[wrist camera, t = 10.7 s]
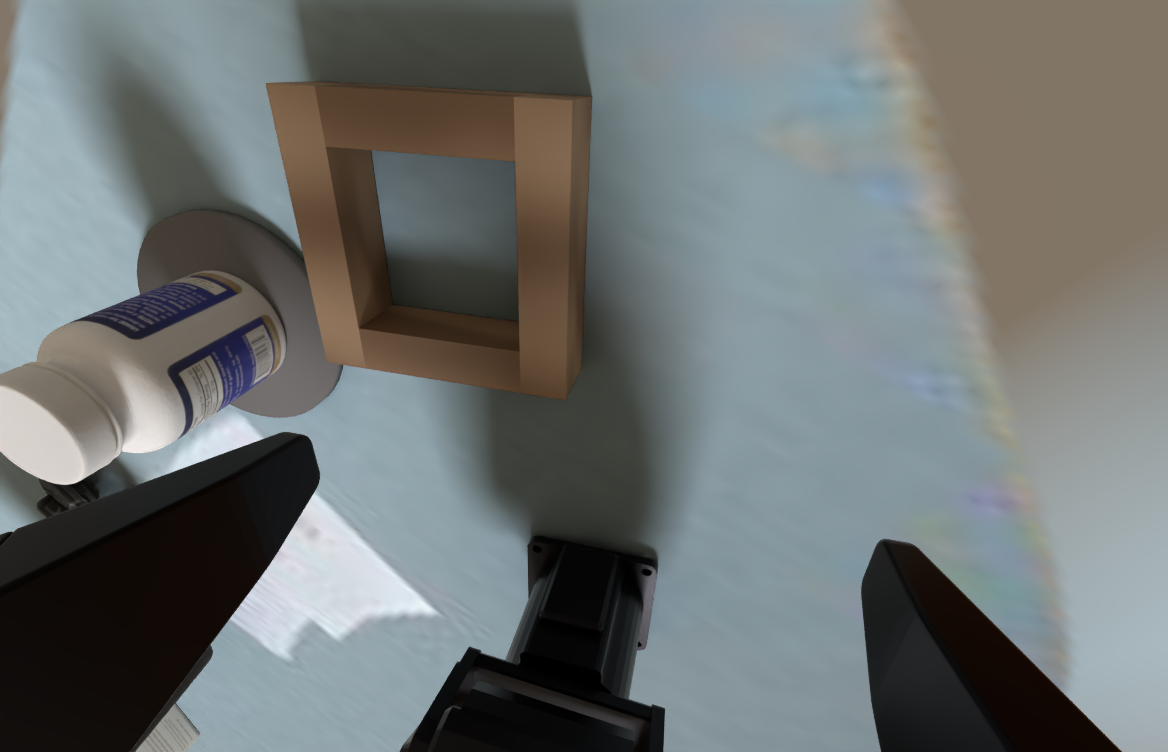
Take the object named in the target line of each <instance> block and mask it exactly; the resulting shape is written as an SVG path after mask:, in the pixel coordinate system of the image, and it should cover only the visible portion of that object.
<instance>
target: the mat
mask: <svg viewBox="0 0 1168 752" xmlns="http://www.w3.org/2000/svg"><path fill="white" fill-rule="evenodd" d="M201 271H220V272H225V273H228V274H231V275H234V276H236V277H238V278H240V279H242V280H243V281H245V282H247V283H248V284H250V285H251V286H252V287H254V288H255V289H256V290H257V291H258V292H259V293H261V294H262V295H263V296H264V297H265V299H266V300H267V301H268V302H269V303H270V305H271V306H272V307H273V309H274V310H275V312H276V314H277V316H278V318H279V320H280V322H281V324H282V326H283V329H284V333H285V337H286V354H285V358H284V360H283V363H282V364H281V366H280V367H279V368H278V369H277V370H276V371H275V372H274V373H273V374H271V375H270V376H269V377H268V378H266V379H265V380H263V381H262V382H260V383H259V384H257V385H256V386H255V387H253V388H252V389H250V390H249V391H247V392H246V393H244V394H243V395H242V396H240V397H239V398H237V399H236V400H234V401H233V402H231V403H230V404H231V405H233V406H235V407H237V408H239V409H241V410H244V411H247V412H250V413H253V414H257V415H261V416H267V417H291V416H297V415H300V414H303V413H305V412H307V411H309V410H311V409H313V408H314V407H315V406H317V405H318V404H319V403H320V402H322V401H323V400H324V399H325V398H326V397H328V396H329V395H330V393H331V392H332V391H333V390H334V388H335V387H336V385H337V383H338V381H339V379H340V376H341V372H342V369H343V365H341V364H335V363H329V362H327V360H326V355H325V351H324V346H323V342H322V337H321V333H320V328H319V324H318V319H317V315H316V310H315V306H314V301H313V296H312V292H311V287H310V283H309V278H308V274H307V269H306V265H305V262H304V261H303V260H302V259H301V258H300V257H299V256H298V254H297V253H296V252H294V251H293V250H292V249H291V248H290V247H289V246H288V245H287V244H286V243H284V242H283V241H282V240H281V239H279V238H278V237H277V236H275V235H274V234H273V233H271V232H270V231H268V230H267V229H265V228H263V227H261V226H260V225H258V224H256V223H254V222H252V221H250V220H248V219H246V218H244V217H241V216H238V215H235V214H232V213H229V212H224V211H218V210H206V209H200V210H193V211H188V212H184V213H180V214H177V215H174V216H171V217H168V218H166V219H164V220H162V221H161V222H159V223H158V224H156V225H155V226H154V227H153V228H152V229H151V230H150V231H149V233H148V234H147V236H146V237H145V239H144V241H143V243H142V246H141V248H140V252H139V257H138V263H137V278H138V287H139V291H140V295H141V294H143V293H146V292H148V291H151V290H153V289H156V288H159V287H161V286H164V285H166V284H168V283H171V282H173V281H176V280H178V279H181V278H183V277H186V276H189V275H191V274H194V273H197V272H201Z"/></svg>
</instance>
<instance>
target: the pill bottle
mask: <svg viewBox="0 0 1168 752" xmlns="http://www.w3.org/2000/svg"><path fill="white" fill-rule="evenodd" d="M285 354H286V337H285V333H284V329H283V326H282V324H281V322H280V320H279V318H278V316H277V314H276V312H275V310H274V309H273V307H272V306H271V305H270V303H269V302H268V301H267V300H266V299H265V297H264V296H263V295H262V294H261V293H259V292H258V291H257V290H256V289H255V288H254V287H252V286H251V285H250V284H248V283H247V282H245V281H243V280H242V279H240V278H238V277H236V276H234V275H231V274H228V273H225V272H220V271H201V272H197V273H194V274H191V275H189V276H186V277H183V278H181V279H178V280H176V281H173V282H171V283H168V284H166V285H164V286H161V287H159V288H156V289H153V290H151V291H148V292H146V293H143V294H141V295H139V296H136V297H133V298H131V299H128V300H126V301H123V302H121V303H118V304H116V305H113V306H111V307H108V308H105V309H103V310H100V311H98V312H95V313H93V314H90V315H88V316H85V317H83V318H80V319H78V320H75V321H73V322H70V323H68V324H66V325H64V326H62V327H60V328H58V329H56V330H54V331H53V332H51V333H50V334H49V335H48V336H47V337H46V338H45V339H44V340H43V342H42V344H41V345H40V348H39V351H38V355H37V362H31V363H27V364H25V365H23V366H21V367H17V368H15V369H12V370H10V371H8V372H5V373H3V374H1V375H0V452H1V453H3V454H4V455H5V456H6V457H7V458H8V459H9V460H11V461H12V462H13V463H14V464H16V465H17V466H19V467H20V468H21V469H23V470H25V471H26V472H28V473H30V474H32V475H34V476H36V477H38V478H40V479H43V480H45V481H48V482H51V483H55V484H61V485H69V484H74V483H77V482H79V481H81V480H82V479H84V478H86V477H87V476H89V475H91V474H92V473H94V472H96V471H97V470H99V469H101V468H103V467H104V466H106V465H108V464H109V463H110V462H111V461H112V460H113V459H114V458H116V457H117V456H118V455H119V454H120V453H121V451H123V452H130V453H145V452H151V451H155V450H158V449H161V448H163V447H165V446H167V445H169V444H171V443H172V442H174V441H176V440H177V439H179V438H180V437H182V436H183V435H185V434H186V433H188V432H189V431H190V430H192V429H194V428H195V427H196V426H198V425H199V424H201V423H202V422H204V421H205V420H207V419H208V418H209V417H211V416H212V415H214V414H215V413H217V412H218V411H220V410H221V409H223V408H224V407H226V406H227V405H228V404H230V403H231V402H233V401H234V400H236V399H237V398H239V397H240V396H242V395H243V394H244V393H246V392H247V391H249V390H250V389H252V388H253V387H255V386H256V385H257V384H259V383H260V382H262V381H263V380H265V379H266V378H268V377H269V376H270V375H271V374H273V373H274V372H275V371H276V370H277V369H278V368H279V367H280V366H281V364H282V363H283V360H284V358H285Z"/></svg>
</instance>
